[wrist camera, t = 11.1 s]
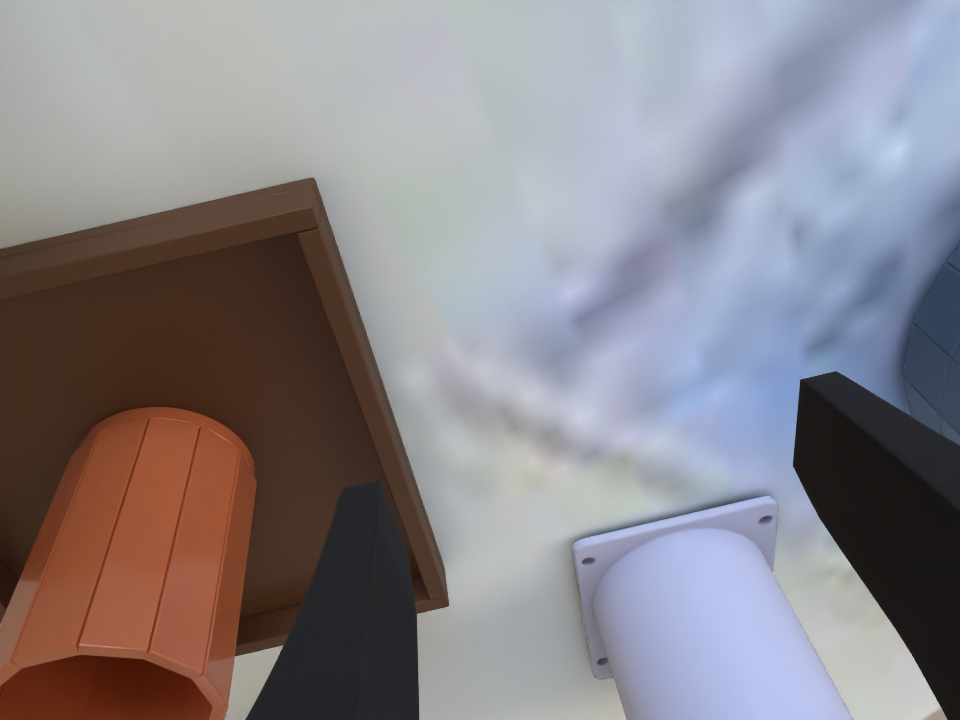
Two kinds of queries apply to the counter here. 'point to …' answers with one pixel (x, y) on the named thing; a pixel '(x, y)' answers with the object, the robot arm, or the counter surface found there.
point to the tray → (207, 378)
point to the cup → (134, 576)
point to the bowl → (937, 355)
